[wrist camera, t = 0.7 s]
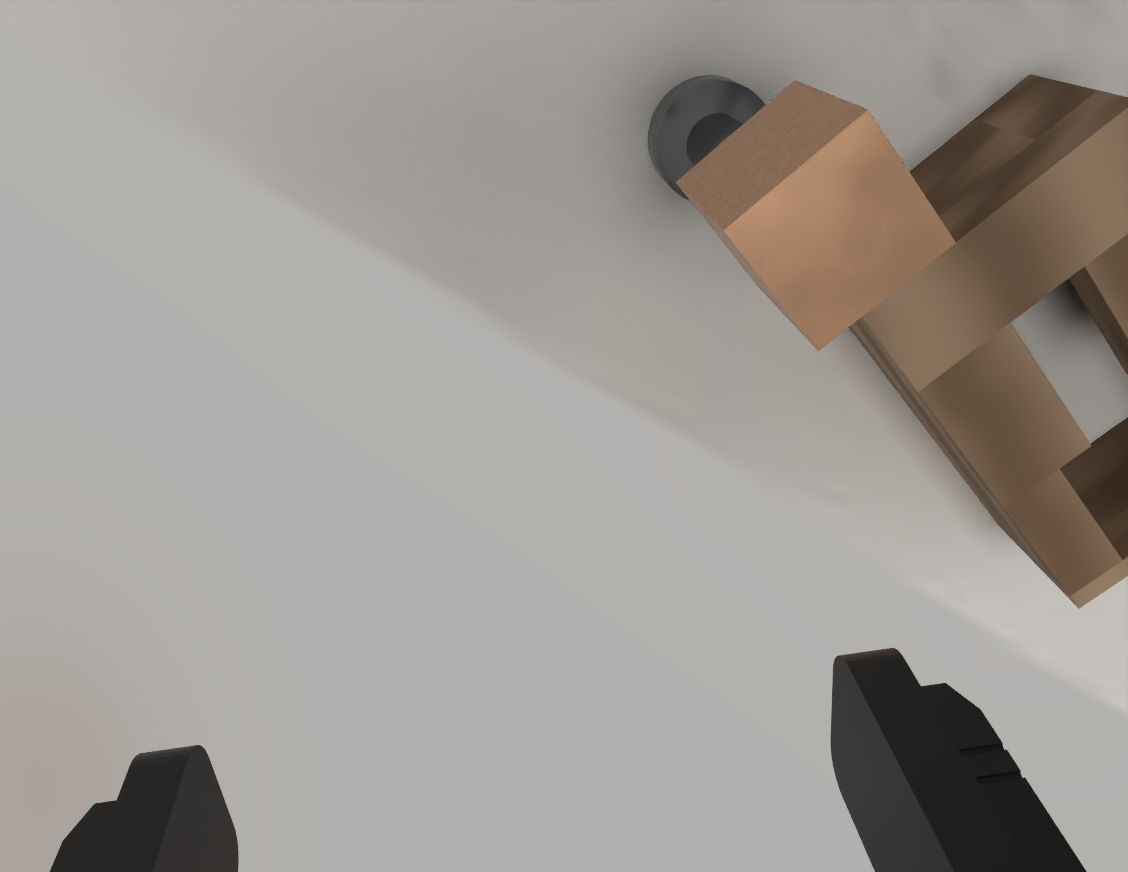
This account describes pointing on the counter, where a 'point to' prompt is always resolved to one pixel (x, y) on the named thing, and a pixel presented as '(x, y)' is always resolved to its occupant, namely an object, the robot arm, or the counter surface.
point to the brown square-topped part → (798, 196)
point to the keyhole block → (999, 295)
